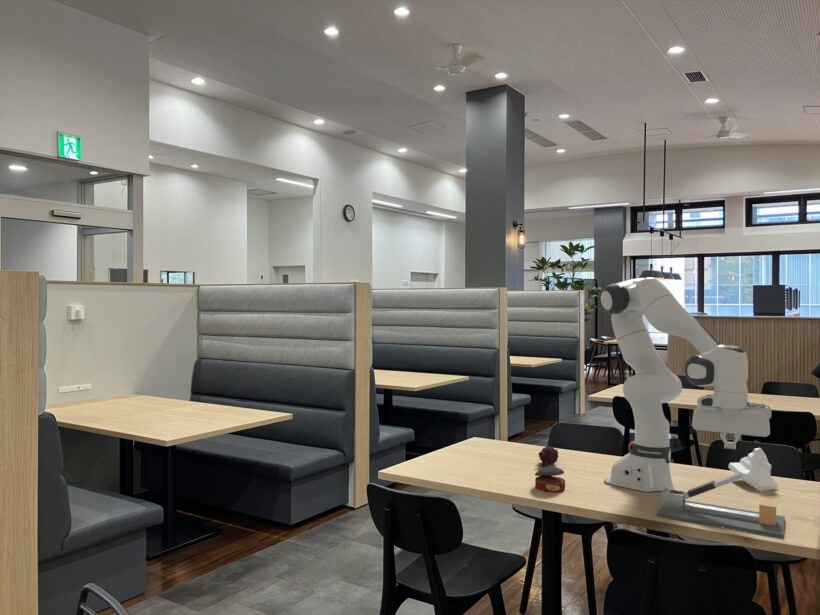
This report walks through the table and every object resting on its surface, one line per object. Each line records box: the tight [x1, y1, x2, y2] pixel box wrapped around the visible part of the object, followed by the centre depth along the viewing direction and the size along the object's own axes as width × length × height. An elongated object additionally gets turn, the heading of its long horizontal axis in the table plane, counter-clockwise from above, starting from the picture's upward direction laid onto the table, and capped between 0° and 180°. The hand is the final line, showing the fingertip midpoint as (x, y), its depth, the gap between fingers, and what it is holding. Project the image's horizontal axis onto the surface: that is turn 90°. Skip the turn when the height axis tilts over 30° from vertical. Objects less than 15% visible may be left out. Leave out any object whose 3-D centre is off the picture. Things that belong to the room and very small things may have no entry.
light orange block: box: [758, 500, 777, 526], centre depth 181 cm, size 4×5×5 cm
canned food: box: [534, 465, 566, 493], centre depth 216 cm, size 11×10×10 cm
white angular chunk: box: [727, 447, 779, 492], centre depth 223 cm, size 12×15×14 cm
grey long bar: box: [660, 488, 776, 525], centre depth 188 cm, size 30×6×4 cm, turn 59°
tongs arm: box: [681, 472, 743, 500], centre depth 190 cm, size 21×3×2 cm, turn 59°
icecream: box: [538, 445, 559, 468], centre depth 249 cm, size 7×7×15 cm
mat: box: [656, 499, 786, 539], centre depth 188 cm, size 32×18×1 cm, turn 59°
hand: (729, 448), depth 187 cm, fingers closed
